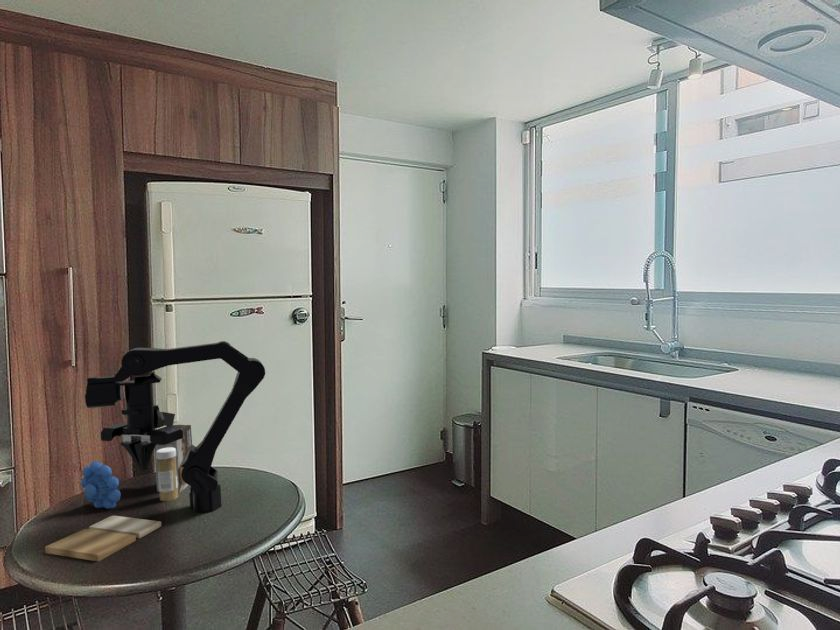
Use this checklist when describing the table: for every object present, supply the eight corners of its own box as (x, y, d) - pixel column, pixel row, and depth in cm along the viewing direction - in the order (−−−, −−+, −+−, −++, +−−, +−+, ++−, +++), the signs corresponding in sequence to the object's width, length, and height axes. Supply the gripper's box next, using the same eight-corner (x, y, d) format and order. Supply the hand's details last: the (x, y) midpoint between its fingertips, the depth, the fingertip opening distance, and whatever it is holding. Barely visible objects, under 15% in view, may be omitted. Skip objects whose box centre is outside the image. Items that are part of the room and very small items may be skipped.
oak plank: (136, 544, 114) (135, 535, 114) (98, 565, 105) (98, 554, 105) (85, 537, 118) (85, 528, 118) (45, 556, 109) (45, 546, 109)
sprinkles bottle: (182, 498, 139) (179, 446, 138) (171, 505, 134) (168, 452, 134) (166, 498, 140) (163, 446, 139) (155, 505, 135) (151, 451, 135)
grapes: (68, 514, 131) (64, 465, 131) (93, 503, 138) (90, 457, 137) (104, 519, 127) (101, 469, 127) (128, 508, 134) (125, 460, 133)
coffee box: (172, 481, 152) (169, 424, 151) (195, 480, 152) (192, 423, 151) (155, 493, 143) (152, 433, 142) (179, 493, 143) (176, 432, 142)
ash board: (161, 530, 120) (161, 521, 120) (139, 542, 115) (139, 533, 114) (112, 524, 125) (112, 515, 125) (89, 535, 119) (89, 526, 119)
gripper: (198, 397, 129) (201, 462, 129) (136, 395, 135) (140, 457, 135) (162, 407, 118) (166, 478, 119) (96, 404, 124) (101, 472, 125)
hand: (144, 470), depth 125 cm, fingers closed
